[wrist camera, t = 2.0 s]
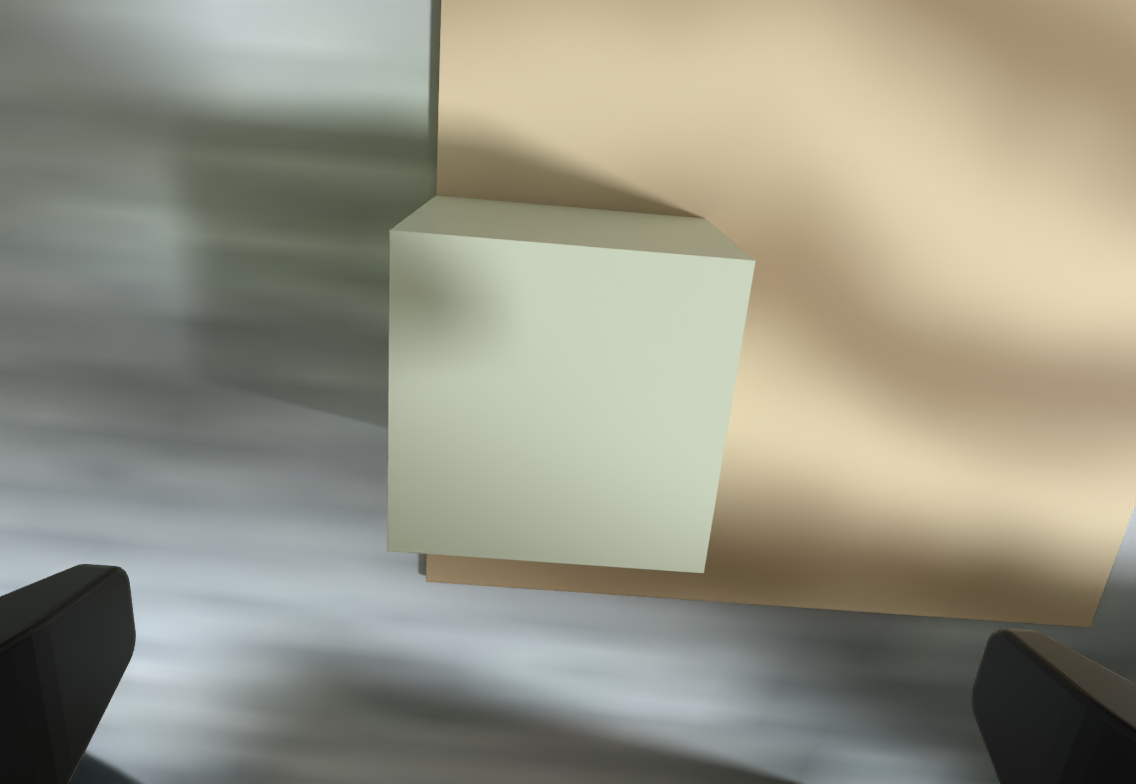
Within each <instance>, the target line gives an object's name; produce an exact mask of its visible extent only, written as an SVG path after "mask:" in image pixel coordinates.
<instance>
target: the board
mask: <svg viewBox="0 0 1136 784" xmlns="http://www.w3.org/2000/svg"><path fill="white" fill-rule="evenodd" d="M436 195H437V196H449V197H460V198H472V199H484V200H496V201H507V202H519V203H531V204H543V205H554V206H566V207H578V208H590V209H601V210H613V211H625V212H637V213H648V214H660V215H672V216H684V217H695V218H705V219H706V220H708V221H709V222H710V223H711V224H712V225H714V226H715V227H716V228H717V229H718V230H720V231H721V232H722V233H723V234H724V235H726V236H727V237H728V238H729V239H730V240H732V241H733V242H734V243H735V244H736V245H737V246H739V247H740V248H741V249H742V250H743V251H745V252H746V253H747V254H748V255H749V256H751V257H752V258H753V259H754V260H755V267H754V273H753V279H752V285H751V291H750V297H749V303H748V309H747V315H746V321H745V327H744V333H743V339H742V345H741V351H740V357H739V364H738V370H737V376H736V382H735V388H734V394H733V400H732V406H731V412H730V418H729V424H728V430H727V436H726V442H725V448H724V454H723V460H722V466H721V472H720V478H719V484H718V490H717V496H716V502H715V508H714V514H713V520H712V526H711V532H710V538H709V544H708V550H707V556H706V562H705V568H704V573H693V572H679V571H665V570H650V569H636V568H622V567H608V566H593V565H579V564H565V563H551V562H536V561H522V560H508V559H494V558H480V557H465V556H451V555H437V554H427V562H426V582H439V583H453V584H468V585H482V586H497V587H511V588H526V589H540V590H555V591H569V592H584V593H598V594H613V595H627V596H642V597H656V598H671V599H685V600H700V601H714V602H729V603H743V604H757V605H772V606H786V607H801V608H815V609H830V610H844V611H859V612H873V613H888V614H902V615H917V616H931V617H946V618H960V619H975V620H989V621H1004V622H1018V623H1033V624H1047V625H1062V626H1076V627H1090V626H1091V623H1092V621H1093V618H1094V615H1095V613H1096V610H1097V607H1098V604H1099V602H1100V599H1101V596H1102V594H1103V591H1104V588H1105V585H1106V583H1107V580H1108V577H1109V575H1110V572H1111V569H1112V567H1113V564H1114V561H1115V558H1116V556H1117V553H1118V550H1119V548H1120V545H1121V542H1122V540H1123V537H1124V534H1125V531H1126V529H1127V526H1128V523H1129V521H1130V518H1131V515H1132V513H1133V510H1134V507H1135V504H1136V0H441V33H440V71H439V109H438V146H437V184H436Z"/></svg>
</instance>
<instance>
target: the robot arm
mask: <svg viewBox="0 0 1136 784" xmlns="http://www.w3.org/2000/svg"><path fill="white" fill-rule="evenodd" d="M135 640H136V631H135V623H134V614H133V606H132V598H131V590H130V582H129V578H128V575H127V573H126V571H124V570H123V569H122V568H121V567H118V566H107V565H93V564H81V565H77V566H74V567H72V568H69V569H67V570H64V571H62V572H59V573H57V574H54V575H52V576H50V577H47V578H45V579H42V580H40V581H37V582H35V583H32V584H30V585H28V586H25V587H23V588H20V589H18V590H15V591H13V592H10V593H8V594H5V595H3V596H1V597H0V784H69V782H70V780H71V778H72V777H73V775H74V773H75V771H76V769H77V767H78V765H79V763H80V761H81V759H82V757H83V755H84V753H85V751H86V749H87V746H88V744H89V742H90V740H91V738H92V736H93V734H94V732H95V730H96V728H97V726H98V724H99V722H100V720H101V718H102V716H103V714H104V712H105V710H106V708H107V706H108V704H109V702H110V700H111V698H112V696H113V694H114V692H115V690H116V688H117V686H118V684H119V682H120V680H121V678H122V676H123V674H124V672H125V670H126V668H127V666H128V664H129V662H130V660H131V657H132V654H133V651H134V647H135ZM971 700H972V709H973V713H974V717H975V720H976V722H977V725H978V727H979V730H980V733H981V735H982V738H983V740H984V743H985V746H986V748H987V751H988V753H989V756H990V759H991V761H992V764H993V766H994V769H995V772H996V774H997V777H998V779H999V782H1000V784H1136V684H1135V683H1133V682H1131V681H1129V680H1127V679H1126V678H1124V677H1122V676H1120V675H1118V674H1116V673H1115V672H1113V671H1111V670H1109V669H1107V668H1105V667H1104V666H1102V665H1100V664H1098V663H1096V662H1094V661H1093V660H1091V659H1089V658H1087V657H1085V656H1083V655H1082V654H1080V653H1078V652H1076V651H1074V650H1072V649H1071V648H1069V647H1067V646H1065V645H1063V644H1061V643H1060V642H1058V641H1056V640H1054V639H1052V638H1050V637H1049V636H1047V635H1045V634H1043V633H1041V632H1039V631H1035V630H1027V629H1011V628H1000V629H998V630H995V631H994V632H993V633H992V634H991V636H990V637H989V640H988V642H987V645H986V648H985V651H984V654H983V658H982V661H981V664H980V667H979V670H978V673H977V676H976V679H975V683H974V686H973V690H972V698H971Z"/></svg>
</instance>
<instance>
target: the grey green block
mask: <svg viewBox="0 0 1136 784" xmlns="http://www.w3.org/2000/svg"><path fill="white" fill-rule="evenodd" d="M754 267H755V260H754V259H753V258H752V257H751V256H749V255H748V254H747V253H746V252H745V251H743V250H742V249H741V248H740V247H739V246H737V245H736V244H735V243H734V242H733V241H732V240H730V239H729V238H728V237H727V236H726V235H724V234H723V233H722V232H721V231H720V230H718V229H717V228H716V227H715V226H714V225H712V224H711V223H710V222H709V221H708V220H706V219H705V218H695V217H684V216H672V215H660V214H648V213H637V212H625V211H613V210H601V209H590V208H578V207H566V206H554V205H543V204H531V203H519V202H507V201H496V200H484V199H472V198H460V197H449V196H437V195H436V196H435V197H433V198H432V199H431V200H429V201H428V202H427V203H425V204H424V205H423V206H421V207H420V208H419V209H417V210H416V211H415V212H413V213H412V214H411V215H409V216H408V217H407V218H405V219H404V220H403V221H401V222H400V223H398V224H397V225H396V226H394V227H393V228H392V229H390V250H389V395H388V540H387V551H394V552H408V553H423V554H437V555H451V556H465V557H480V558H494V559H508V560H522V561H536V562H551V563H565V564H579V565H593V566H608V567H622V568H636V569H650V570H665V571H679V572H693V573H704V568H705V562H706V556H707V550H708V544H709V538H710V532H711V526H712V520H713V514H714V508H715V502H716V496H717V490H718V484H719V478H720V472H721V466H722V460H723V454H724V448H725V442H726V436H727V430H728V424H729V418H730V412H731V406H732V400H733V394H734V388H735V382H736V376H737V370H738V364H739V357H740V351H741V345H742V339H743V333H744V327H745V321H746V315H747V309H748V303H749V297H750V291H751V285H752V279H753V273H754Z"/></svg>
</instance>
